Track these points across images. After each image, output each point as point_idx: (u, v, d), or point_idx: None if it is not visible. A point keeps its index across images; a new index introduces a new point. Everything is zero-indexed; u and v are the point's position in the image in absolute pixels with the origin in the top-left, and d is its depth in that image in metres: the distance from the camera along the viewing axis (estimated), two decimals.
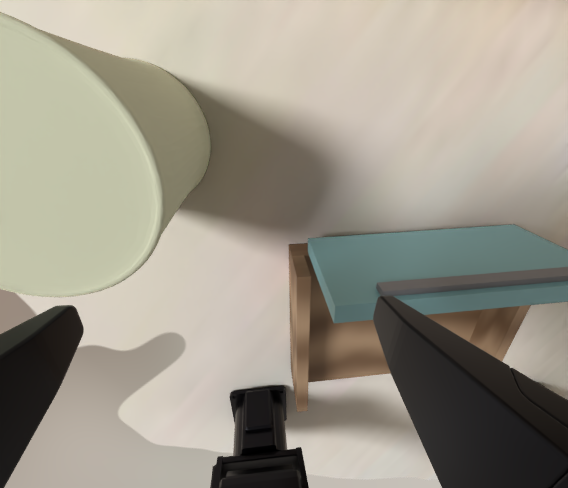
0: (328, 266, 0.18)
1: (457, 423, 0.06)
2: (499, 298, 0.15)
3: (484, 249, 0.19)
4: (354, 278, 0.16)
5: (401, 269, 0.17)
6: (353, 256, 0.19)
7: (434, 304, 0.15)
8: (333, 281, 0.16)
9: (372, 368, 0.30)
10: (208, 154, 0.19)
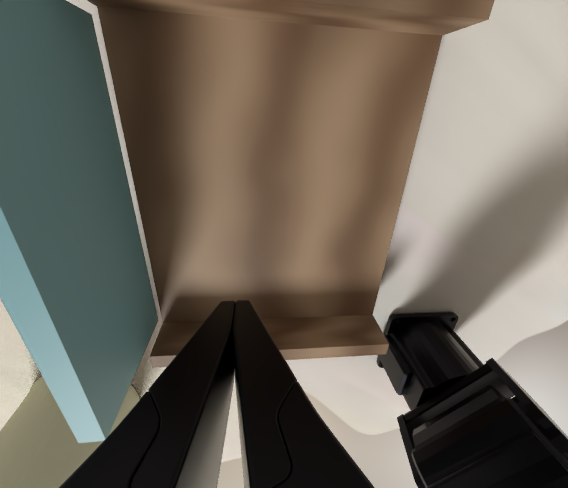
0: None
1: (241, 442, 0.05)
2: (3, 270, 0.08)
3: None
4: None
5: None
6: None
7: (47, 357, 0.10)
8: None
9: (377, 226, 0.18)
10: None
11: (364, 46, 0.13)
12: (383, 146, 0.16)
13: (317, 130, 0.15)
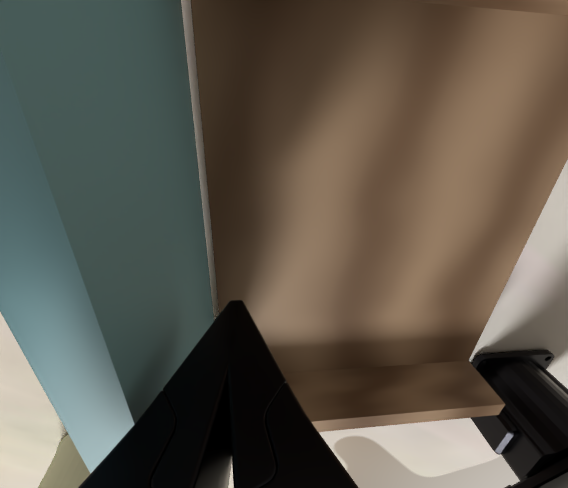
0: None
1: None
2: (87, 413, 0.05)
3: None
4: None
5: None
6: None
7: None
8: None
9: (497, 262, 0.15)
10: None
11: (532, 37, 0.10)
12: (526, 166, 0.12)
13: (450, 147, 0.12)
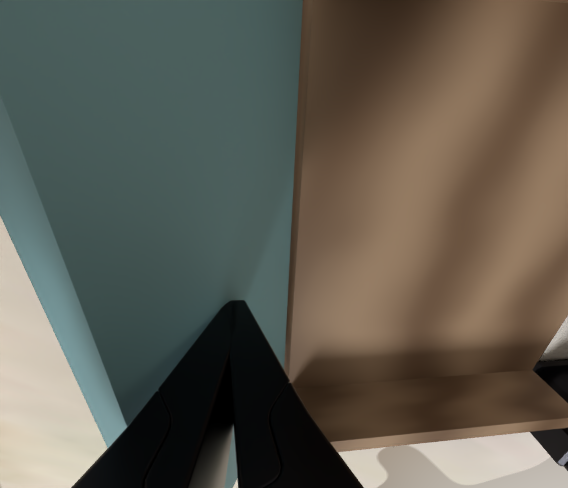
0: None
1: None
2: (93, 391, 0.05)
3: None
4: None
5: None
6: None
7: None
8: None
9: None
10: None
11: None
12: None
13: (550, 152, 0.11)
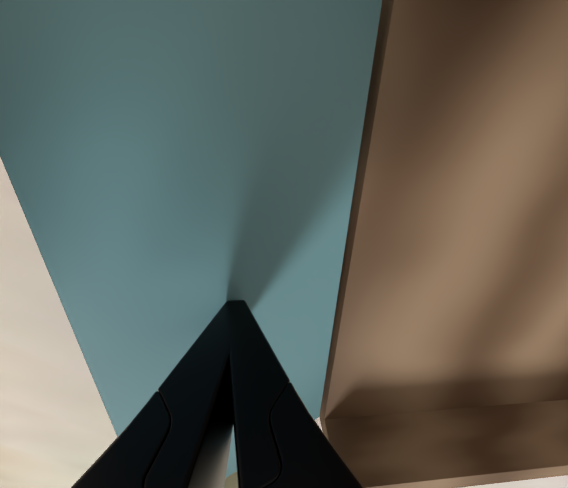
0: None
1: None
2: None
3: None
4: None
5: None
6: None
7: None
8: None
9: None
10: None
11: None
12: None
13: None
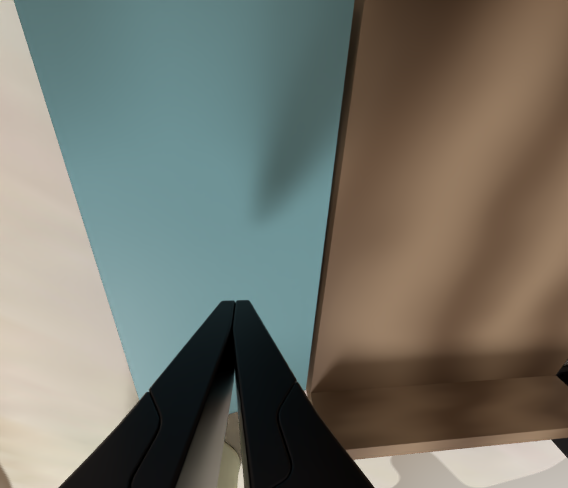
0: None
1: (242, 442, 0.05)
2: None
3: None
4: None
5: None
6: None
7: None
8: None
9: None
10: None
11: None
12: None
13: None
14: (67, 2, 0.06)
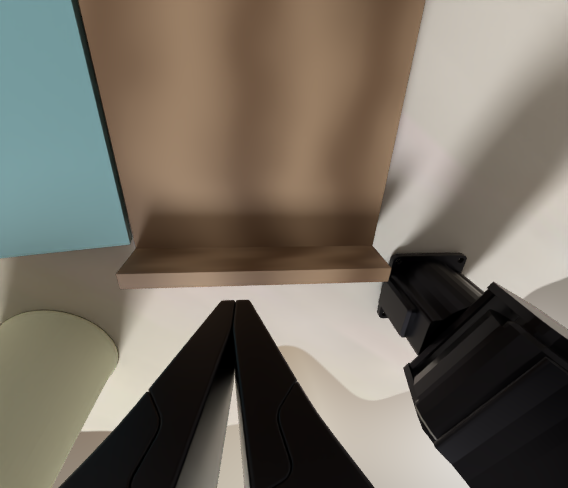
0: None
1: (242, 442, 0.05)
2: None
3: None
4: None
5: None
6: None
7: None
8: None
9: (378, 129, 0.16)
10: (53, 316, 0.21)
11: None
12: (385, 18, 0.13)
13: None
14: None
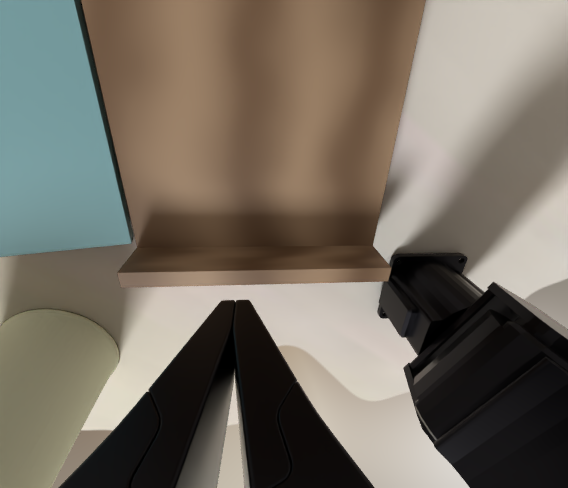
0: None
1: (242, 442, 0.05)
2: None
3: None
4: None
5: None
6: None
7: None
8: None
9: (378, 129, 0.16)
10: (54, 314, 0.21)
11: None
12: (385, 18, 0.14)
13: None
14: None
